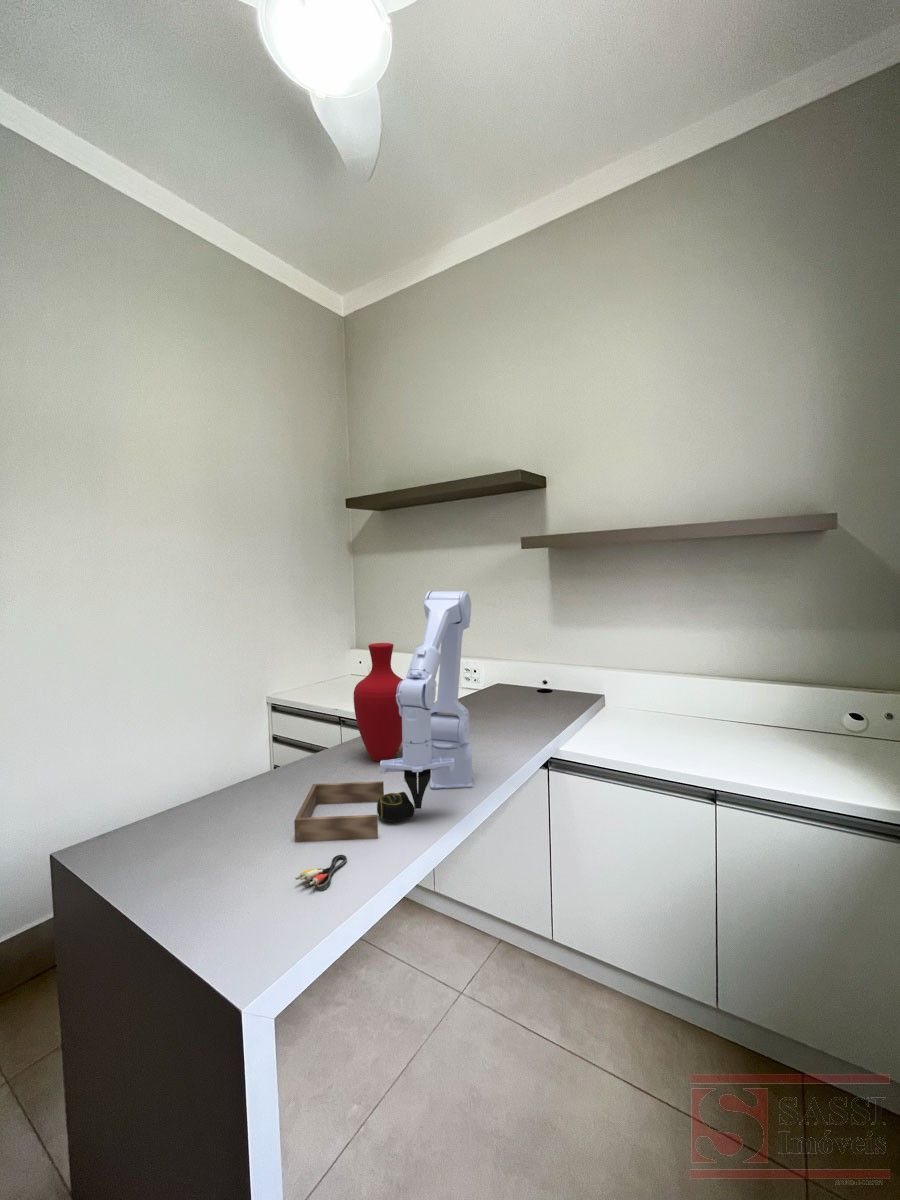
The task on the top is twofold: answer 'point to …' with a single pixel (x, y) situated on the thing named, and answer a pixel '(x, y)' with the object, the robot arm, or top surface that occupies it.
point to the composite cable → (322, 874)
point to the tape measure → (395, 807)
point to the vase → (379, 706)
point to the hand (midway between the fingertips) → (418, 806)
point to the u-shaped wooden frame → (338, 825)
